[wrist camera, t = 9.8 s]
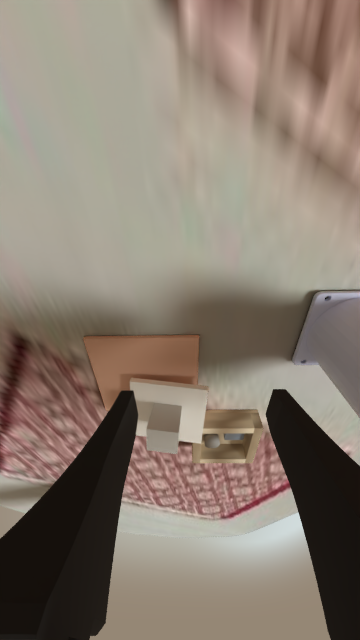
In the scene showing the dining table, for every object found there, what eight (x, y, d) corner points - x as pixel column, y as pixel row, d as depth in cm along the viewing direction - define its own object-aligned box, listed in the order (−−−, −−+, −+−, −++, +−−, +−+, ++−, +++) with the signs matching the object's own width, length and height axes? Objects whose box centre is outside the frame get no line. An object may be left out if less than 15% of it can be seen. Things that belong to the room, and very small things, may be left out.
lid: (208, 380, 23) (208, 417, 19) (201, 432, 26) (200, 473, 22) (133, 372, 23) (118, 405, 19) (136, 424, 27) (123, 462, 23)
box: (257, 409, 27) (263, 428, 25) (247, 444, 31) (252, 463, 29) (192, 410, 27) (193, 428, 25) (191, 444, 31) (192, 463, 29)
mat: (198, 334, 21) (199, 337, 20) (196, 407, 27) (196, 410, 26) (84, 336, 21) (83, 338, 21) (107, 408, 27) (106, 410, 26)
